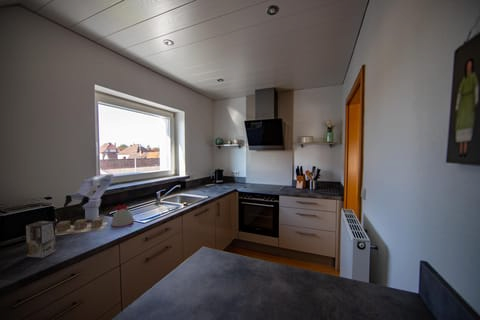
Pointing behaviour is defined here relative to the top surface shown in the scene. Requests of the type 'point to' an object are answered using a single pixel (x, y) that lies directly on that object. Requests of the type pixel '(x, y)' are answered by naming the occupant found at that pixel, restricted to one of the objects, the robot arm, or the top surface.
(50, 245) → the coffee box
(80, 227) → the one bar block
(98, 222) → the two bar block
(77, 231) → the board
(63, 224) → the plain block
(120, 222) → the white red-topped dome
